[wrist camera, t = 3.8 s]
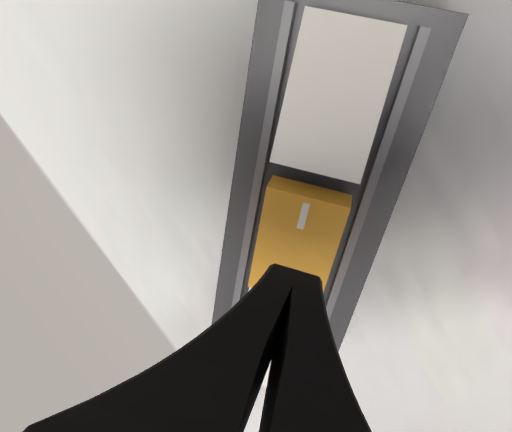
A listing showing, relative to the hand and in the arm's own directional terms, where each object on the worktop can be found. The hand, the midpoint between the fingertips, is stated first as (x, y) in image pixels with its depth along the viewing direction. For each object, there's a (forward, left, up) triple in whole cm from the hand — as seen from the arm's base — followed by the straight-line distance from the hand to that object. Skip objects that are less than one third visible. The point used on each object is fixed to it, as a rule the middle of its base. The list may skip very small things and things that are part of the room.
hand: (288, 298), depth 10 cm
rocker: (0, -4, -5) cm, 6 cm away
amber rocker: (0, +1, -5) cm, 5 cm away
